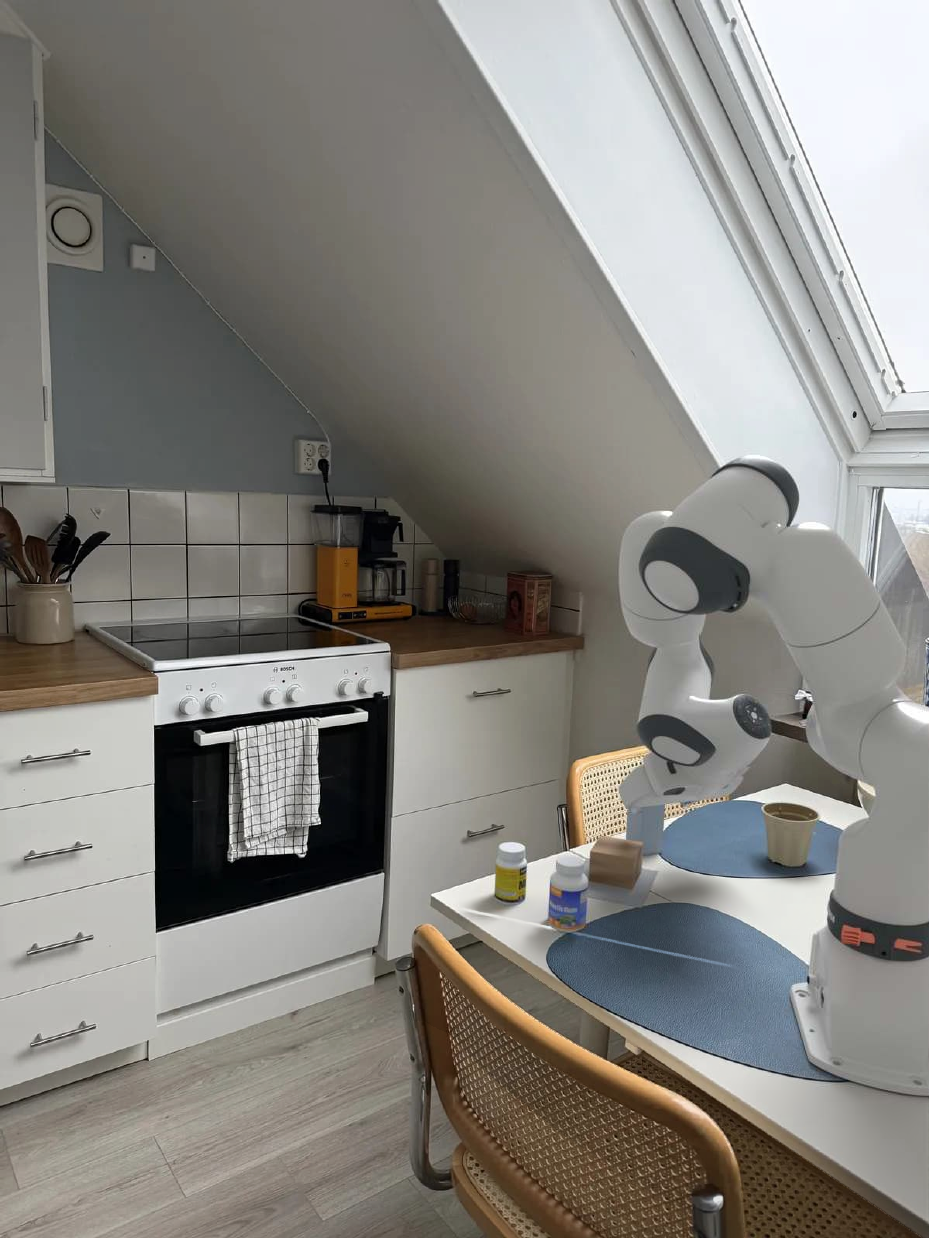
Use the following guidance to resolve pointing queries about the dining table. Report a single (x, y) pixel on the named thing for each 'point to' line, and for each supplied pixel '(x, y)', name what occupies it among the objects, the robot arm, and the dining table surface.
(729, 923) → the dining table surface
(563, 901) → the pill bottle
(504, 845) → the supplement bottle
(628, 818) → the slate pillar
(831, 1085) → the dining table surface
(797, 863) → the flower pot
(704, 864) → the dining table surface
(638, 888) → the mat
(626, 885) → the walnut block
